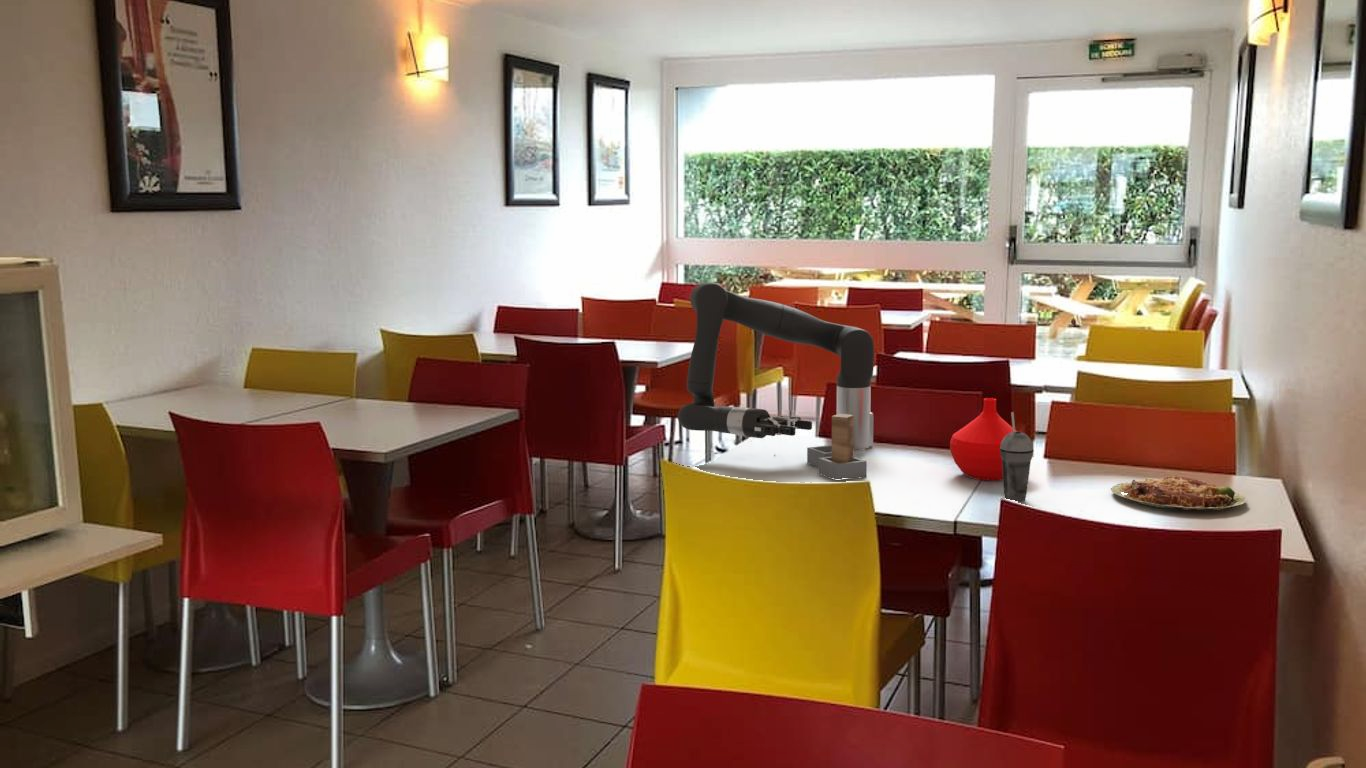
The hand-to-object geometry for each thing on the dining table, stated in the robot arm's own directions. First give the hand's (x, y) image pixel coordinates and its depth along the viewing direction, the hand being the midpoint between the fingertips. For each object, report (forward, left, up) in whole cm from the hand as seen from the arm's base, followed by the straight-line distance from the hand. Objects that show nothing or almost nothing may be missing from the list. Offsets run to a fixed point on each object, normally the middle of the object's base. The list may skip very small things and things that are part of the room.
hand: (803, 428), depth 277 cm
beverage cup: (-26, +48, -11) cm, 56 cm away
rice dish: (-59, +63, -11) cm, 87 cm away
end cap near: (-5, +10, -11) cm, 15 cm away
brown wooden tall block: (-5, +10, -10) cm, 15 cm away
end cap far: (-9, -2, -11) cm, 14 cm away
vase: (-36, +27, -11) cm, 46 cm away
